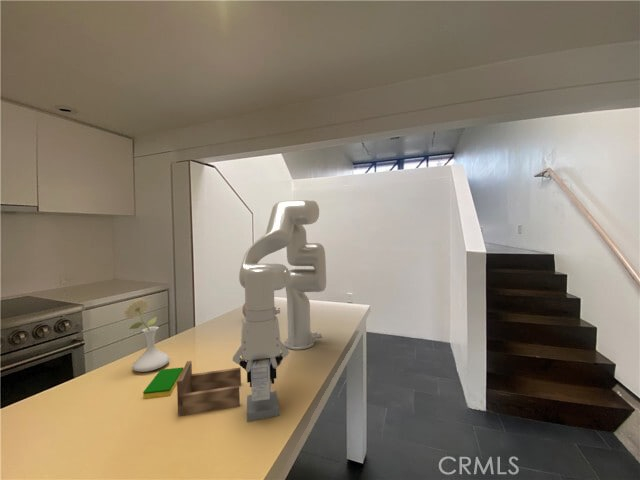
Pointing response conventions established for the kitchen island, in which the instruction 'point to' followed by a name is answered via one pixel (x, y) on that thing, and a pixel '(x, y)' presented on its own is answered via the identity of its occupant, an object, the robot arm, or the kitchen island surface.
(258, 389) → the medicine box
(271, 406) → the plinth
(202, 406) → the rack
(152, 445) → the kitchen island surface
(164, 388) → the dish sponge
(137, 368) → the flower in vase
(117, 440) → the kitchen island surface
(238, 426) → the kitchen island surface
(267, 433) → the kitchen island surface
